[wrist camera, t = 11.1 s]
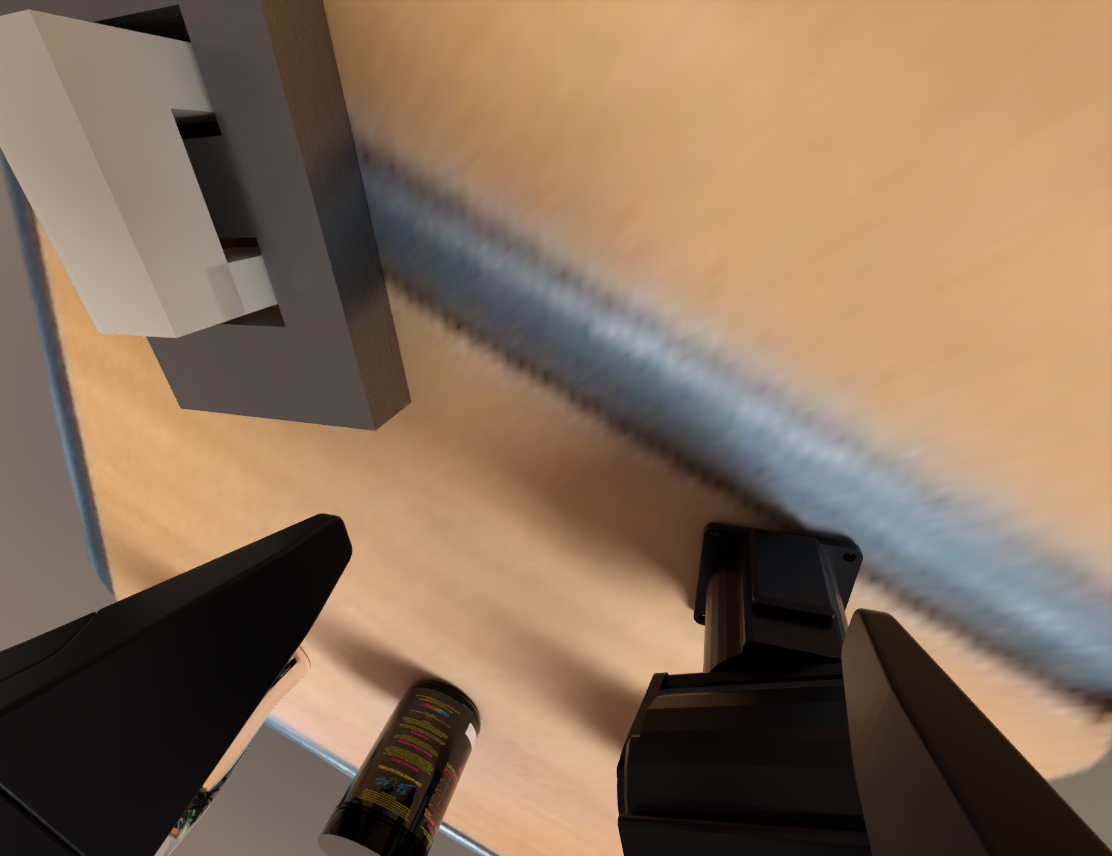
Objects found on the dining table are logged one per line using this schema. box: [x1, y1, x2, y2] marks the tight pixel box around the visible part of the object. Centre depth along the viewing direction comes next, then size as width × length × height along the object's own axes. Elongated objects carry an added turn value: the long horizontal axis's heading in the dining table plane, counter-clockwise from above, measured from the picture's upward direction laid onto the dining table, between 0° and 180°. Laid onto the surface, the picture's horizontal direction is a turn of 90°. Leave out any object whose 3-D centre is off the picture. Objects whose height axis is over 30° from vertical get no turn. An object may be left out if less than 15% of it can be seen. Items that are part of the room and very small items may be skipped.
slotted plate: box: [0, 0, 411, 430], centre depth 20 cm, size 20×12×3 cm, turn 3°
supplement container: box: [318, 681, 481, 856], centre depth 34 cm, size 7×7×10 cm
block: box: [0, 9, 278, 338], centre depth 18 cm, size 9×4×7 cm, turn 3°
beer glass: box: [155, 647, 310, 856], centre depth 36 cm, size 7×7×15 cm
